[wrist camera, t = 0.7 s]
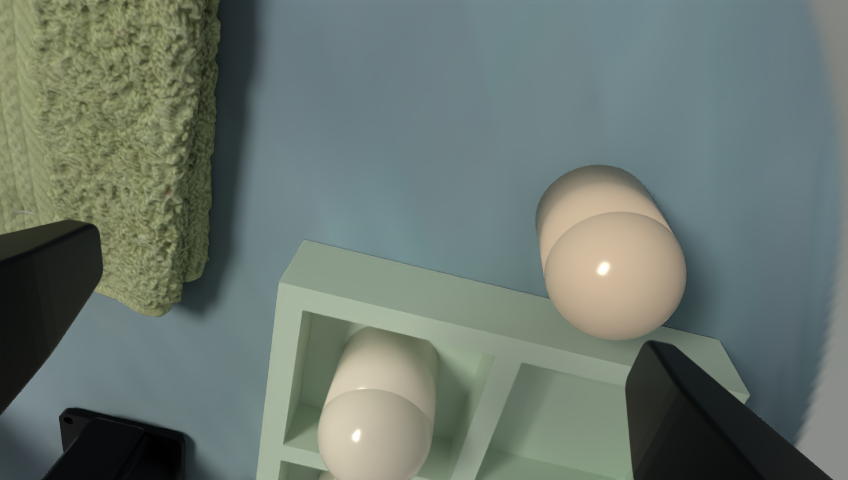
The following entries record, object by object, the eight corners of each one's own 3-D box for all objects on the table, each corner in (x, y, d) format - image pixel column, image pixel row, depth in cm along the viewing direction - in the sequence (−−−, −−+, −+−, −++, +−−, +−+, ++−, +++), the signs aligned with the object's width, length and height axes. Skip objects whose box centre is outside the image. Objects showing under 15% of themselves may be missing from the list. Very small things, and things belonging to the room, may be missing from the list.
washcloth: (-72, 219, 26) (-140, 254, 23) (-157, -277, 17) (-281, -317, 15) (212, 299, 27) (179, 343, 24) (263, -142, 18) (221, -156, 15)
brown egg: (626, 278, 23) (667, 383, 18) (521, 252, 23) (531, 350, 18) (671, 180, 21) (734, 267, 16) (556, 152, 21) (580, 229, 16)
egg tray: (573, 579, 33) (581, 641, 30) (267, 508, 33) (246, 564, 30) (718, 339, 24) (750, 395, 21) (304, 239, 24) (279, 281, 21)
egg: (427, 409, 27) (412, 531, 21) (335, 387, 27) (296, 504, 21) (450, 337, 25) (439, 452, 19) (350, 313, 25) (311, 421, 19)
